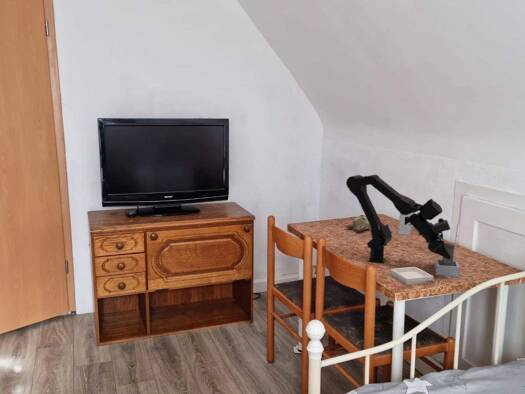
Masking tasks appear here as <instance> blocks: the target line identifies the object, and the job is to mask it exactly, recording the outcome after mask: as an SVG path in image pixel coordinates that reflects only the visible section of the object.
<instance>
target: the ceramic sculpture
mask: <svg viewBox="0 0 525 394" xmlns="http://www.w3.org/2000/svg"><path fill="white" fill-rule="evenodd" d="M344 227H345V228H347V229H354V230H355V231H356V232H363V231H364V230H369V229H370V230H371V226H370V224H369V222H368V220H367V218H366V216H365V214H364V215H363V214H361V215H360V216H358V217H355V218H354V219H353V221H352V222H350V223H348V224H346V225H344Z"/></svg>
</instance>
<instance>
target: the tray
mask: <svg viewBox="0 0 525 394" xmlns="http://www.w3.org/2000/svg"><path fill="white" fill-rule="evenodd" d="M389 276H390V277H392V278H394V279H396V280H397V281H398V282H400V283H402V284H403V285H405V286H415V285H424V284H431V283H434V275H432V274H430V273H428V272H426V271H425V270H422V269H420V268H419V267H417V266H409V267H399V268H398V267H397V268H390V270H389Z"/></svg>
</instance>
